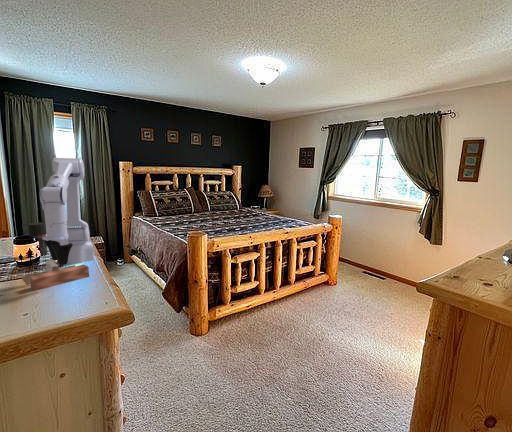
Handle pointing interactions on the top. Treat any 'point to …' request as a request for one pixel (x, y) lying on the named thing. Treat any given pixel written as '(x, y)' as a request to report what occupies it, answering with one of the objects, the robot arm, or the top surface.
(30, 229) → the deodorant
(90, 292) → the top surface
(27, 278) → the base board
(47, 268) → the ridge
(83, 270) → the reddish brown wooden block
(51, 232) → the robot arm
